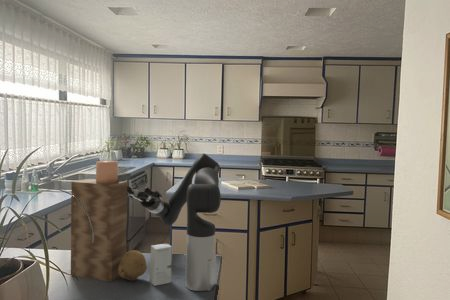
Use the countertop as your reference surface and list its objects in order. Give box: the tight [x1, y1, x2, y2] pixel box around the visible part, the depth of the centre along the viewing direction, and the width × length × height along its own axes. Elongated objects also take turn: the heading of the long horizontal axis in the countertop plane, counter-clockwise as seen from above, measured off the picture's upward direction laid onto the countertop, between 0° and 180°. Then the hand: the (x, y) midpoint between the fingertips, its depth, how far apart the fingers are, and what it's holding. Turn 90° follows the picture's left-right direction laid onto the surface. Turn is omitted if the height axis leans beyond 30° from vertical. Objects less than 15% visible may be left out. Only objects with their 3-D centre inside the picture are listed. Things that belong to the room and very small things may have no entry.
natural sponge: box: [118, 249, 148, 281], centre depth 116 cm, size 9×9×10 cm
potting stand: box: [70, 178, 128, 283], centre depth 121 cm, size 16×8×32 cm, turn 74°
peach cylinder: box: [95, 160, 132, 184], centre depth 123 cm, size 7×16×7 cm, turn 164°
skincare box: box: [149, 243, 173, 286], centre depth 116 cm, size 6×4×12 cm
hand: (135, 188), depth 137 cm, fingers open, 8 cm apart
